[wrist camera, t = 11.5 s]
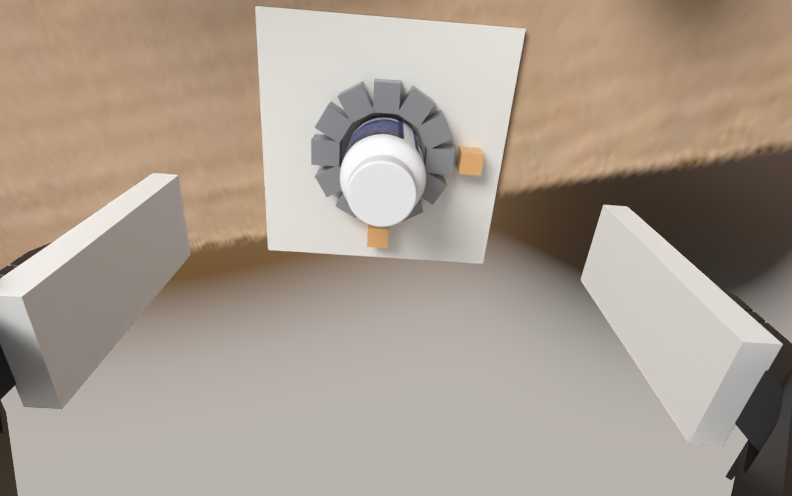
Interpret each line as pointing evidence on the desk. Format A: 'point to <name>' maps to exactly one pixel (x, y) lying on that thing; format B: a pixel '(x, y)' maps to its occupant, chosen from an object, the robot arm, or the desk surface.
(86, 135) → the desk surface
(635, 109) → the desk surface
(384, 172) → the pill bottle
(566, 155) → the desk surface
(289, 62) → the socket
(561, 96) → the desk surface
